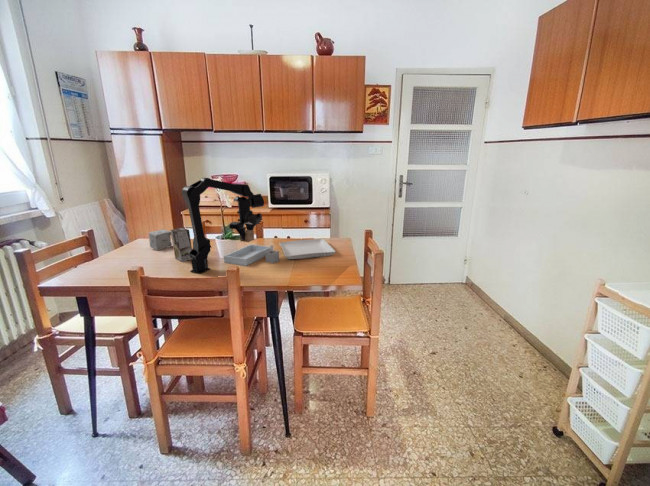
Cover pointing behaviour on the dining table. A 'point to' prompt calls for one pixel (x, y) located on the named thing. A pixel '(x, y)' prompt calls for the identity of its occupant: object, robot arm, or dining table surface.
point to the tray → (246, 255)
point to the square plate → (306, 248)
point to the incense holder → (160, 239)
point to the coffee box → (181, 244)
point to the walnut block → (248, 236)
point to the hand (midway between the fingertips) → (247, 238)
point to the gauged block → (272, 255)
